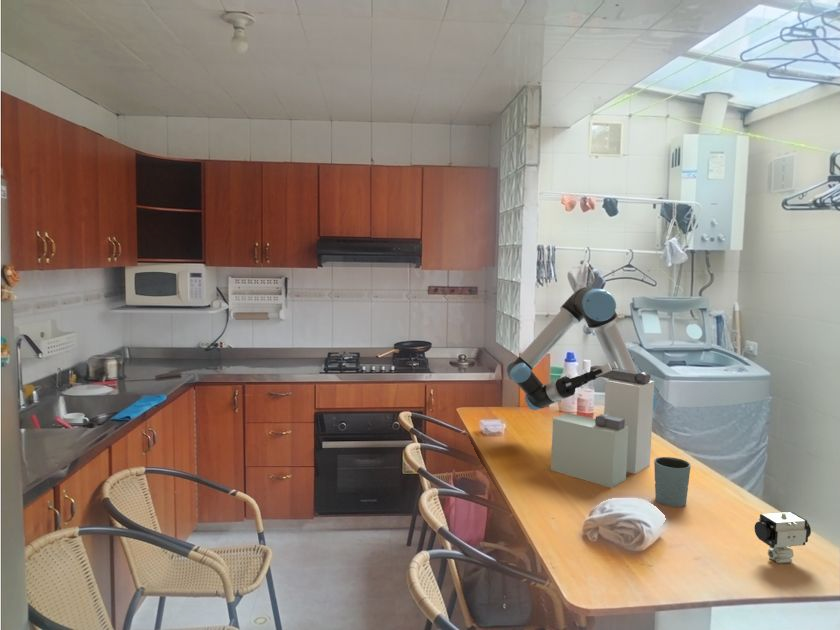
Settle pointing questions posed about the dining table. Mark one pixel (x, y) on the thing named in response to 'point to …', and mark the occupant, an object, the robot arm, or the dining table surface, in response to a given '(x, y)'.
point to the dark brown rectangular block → (626, 375)
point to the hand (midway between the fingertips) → (613, 366)
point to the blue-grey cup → (671, 481)
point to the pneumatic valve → (782, 534)
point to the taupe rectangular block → (633, 418)
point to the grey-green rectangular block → (590, 448)
